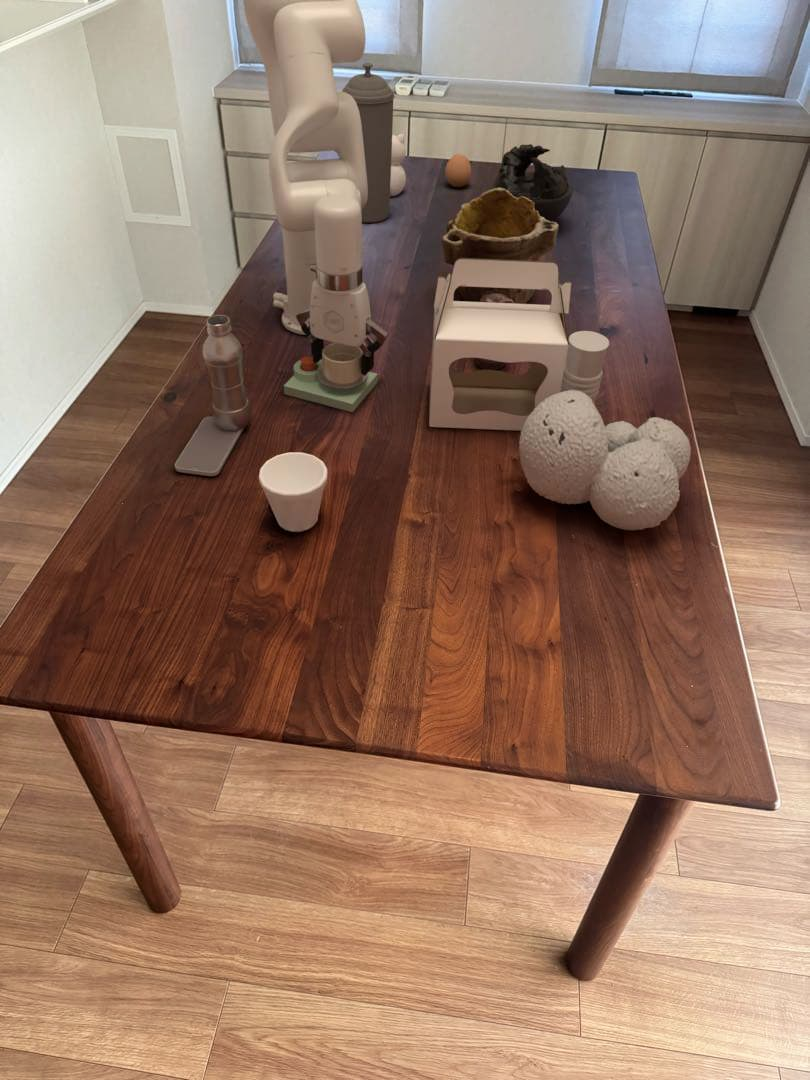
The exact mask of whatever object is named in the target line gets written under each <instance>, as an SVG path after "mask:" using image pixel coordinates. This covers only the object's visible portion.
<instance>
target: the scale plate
mask: <svg viewBox="0 0 810 1080" xmlns="http://www.w3.org/2000/svg"><path fill="white" fill-rule="evenodd" d="M318 378H319V380H320V382H322V383H323V384H324V385H326V386H328V387H331V388H336V389H349V388H354V387H357V386H360V385H361V384H363V383H364V382H365V381H366V380H367V378H368V373H367V374H366V376H364V375H362V376H361V377H360V378H359V379H358V380H357V381H355V382H352V383H348V384H338V383H334V382H331V381H329V380H328V379H327V378H326V377H325V375H324V374H323V366H322V367H321V368H320V370H319V371H318Z"/></svg>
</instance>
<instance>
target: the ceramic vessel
mask: <svg viewBox="0 0 810 1080" xmlns="http://www.w3.org/2000/svg"><path fill="white" fill-rule="evenodd" d="M534 204H535V203H534V202H533V201H531V200H529V199H528V198H525V197H520V198H516V197H514V196H513V195H512V194H511V193H509V191H508V190H506V189H504V188H494V189H493V188H492V189H489V190H486V191H484V192H483V193H481V194H480V195H479V196H478V197H475V198H473V199H471V200H470V201H469V202H466V203H462V204H461V205H460V207H459V211H458V212H457V214H456V216H455V218H454V219H451V220H449V221H448V222H447V225H446V234H443V236H441V246H442V253H443V258H444V262H445V263H446V264H448V265H452V266H454V264H455V261H456V260H457V259H459V258H474V259H499V260H523V261H540V258H541V257H542V256H543V255H545V254H547V253H549V252H551V251H553V250H554V249H555V247H556V244H557V236H558V231H559V224H558V223H557V222H556V221H553V222H550V221H548V220H545V218H543V217H542V216H540V215H539V213H538V211H535V208H534ZM456 290H457V291H458V293H459V294H460V296H461V297H462V298H463V299H464V301H465V302H480V300H481V298H482V297H483V295H484V294H485V293H486V292H489V291H502V292H505V293H508V294H509V295H510V296H511V297H512V300H513V302H514V304H527V302H528V301H530V299H531V298H532V296H533V295H534V292H535V290H536V289H519V288H494V287H470V286H465V287H462V286H459V287H457V288H456Z"/></svg>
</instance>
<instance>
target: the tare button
mask: <svg viewBox="0 0 810 1080" xmlns="http://www.w3.org/2000/svg"><path fill="white" fill-rule="evenodd" d="M300 360H301V366H302V370H303V371H314V370H316V369H317V363H314V362H313V355H305V356H303V357H301V359H300Z"/></svg>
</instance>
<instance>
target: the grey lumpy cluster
mask: <svg viewBox="0 0 810 1080" xmlns="http://www.w3.org/2000/svg"><path fill="white" fill-rule="evenodd" d="M518 445H519V446H518V450H519V452H518V453H519V454H518V455H519V458H520V459H519V461H520V463H519V464H520V466H521V470H522V471H523V473H524V478H525V479H526V480H527V481H526V482H527V484H529V487H530V488H531V489H532V490H533V491H534V492H535V493H536V494H538V495H539V496H540V497H543V498H544V499H547V500H550V501H551V502H556V503H558V504H562V505H564V504H566V505H572V504H573V505H578V504H584V503H588V501H589V503H590V505H591V508H592V509H593V510H594V512H595V513H596V515H598V516H597V517H599V518H600V520H602V521H603V522H604V523H607V524H608V525H610V526H611V527H614V528H617V529H620V530H624V531H642V530H645V529H648V528H649V529H651V528H655V527H658V526H660V524H661V522H664V521H666V520H667V519H668V517H669V516H670V515H671V513H672V512H673V511H674V510H675V509H676V508H677V505H678V503H679V501H680V492H681V490H680V488H679V487H680V486H679V485H680V483H679V482H680V479H681V478H682V477H683V476H684V475H685V473H686V471H687V469H688V466H689V464H690V461H691V455H692V447H691V442H690V440H689V437H688V436H687V435H686V433H685V432H684V430H683V429H681V428H680V427H679V426H678V425H676V424H675V423H674V422H673V420H668V419H665V418H663V417H658V416H657V417H656V416H654V417H649V418H648V419H647V420H646V421H645V422H644V423H642V424H641V425H640V426H639V427H637V428H636V427H635V426H633V424H632V423H629V422H628V421H625V420H622V421H615V422H610V423H608V424H607V425H605V424H604V420H603V418H602V415H601V413H600V412H599V410H598V409H597V406H596V405H595V406H594V403H593V401H592V399H591V398H589V396H587V395H586V394H585V393H583V392H581V391H574V390H568V391H564V392H560V393H557V394H554V395H551V396H549V397H548V398H545V400H544V401H543V402H541V403H540V404H539V405H538V406H537V407H536V408H535V409H534V410H533V412H532V413H531V414H530V415H529V416H528V418H527V420H526V421H525V423H524V426H523V428H522V431H520V436H519V441H518Z"/></svg>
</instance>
